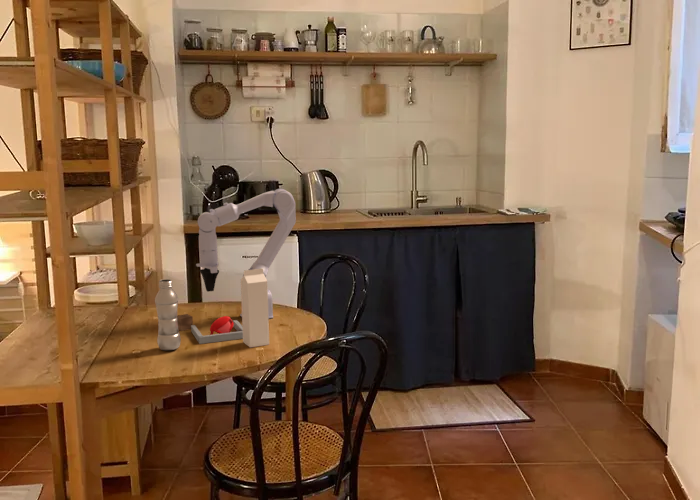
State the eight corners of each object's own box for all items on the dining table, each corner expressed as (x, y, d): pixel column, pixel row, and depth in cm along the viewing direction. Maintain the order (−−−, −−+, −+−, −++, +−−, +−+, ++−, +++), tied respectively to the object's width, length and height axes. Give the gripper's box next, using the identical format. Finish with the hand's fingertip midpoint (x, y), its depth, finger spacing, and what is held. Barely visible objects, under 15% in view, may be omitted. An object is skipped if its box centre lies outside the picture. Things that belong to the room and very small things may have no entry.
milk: (242, 342, 202) (239, 268, 198) (262, 339, 205) (259, 266, 201) (250, 347, 196) (246, 272, 193) (270, 344, 199) (267, 269, 196)
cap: (234, 321, 212) (216, 312, 211) (237, 319, 207) (220, 310, 206) (222, 344, 210) (204, 335, 209) (225, 343, 204) (207, 334, 203)
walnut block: (187, 326, 220) (186, 313, 219) (193, 328, 217) (192, 316, 216) (175, 328, 217) (175, 316, 217) (181, 331, 214) (180, 318, 214)
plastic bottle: (160, 354, 192) (156, 284, 188) (155, 347, 198) (151, 279, 194) (183, 350, 195) (179, 281, 191) (177, 344, 200) (174, 277, 197)
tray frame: (237, 326, 219) (236, 320, 218) (248, 337, 206) (247, 331, 206) (191, 331, 213) (191, 325, 213) (199, 344, 201) (199, 337, 200)
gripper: (191, 247, 227) (193, 287, 229) (200, 254, 214) (202, 296, 216) (212, 245, 229) (214, 285, 232) (223, 252, 216) (224, 294, 219)
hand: (210, 290), depth 224 cm, fingers closed
